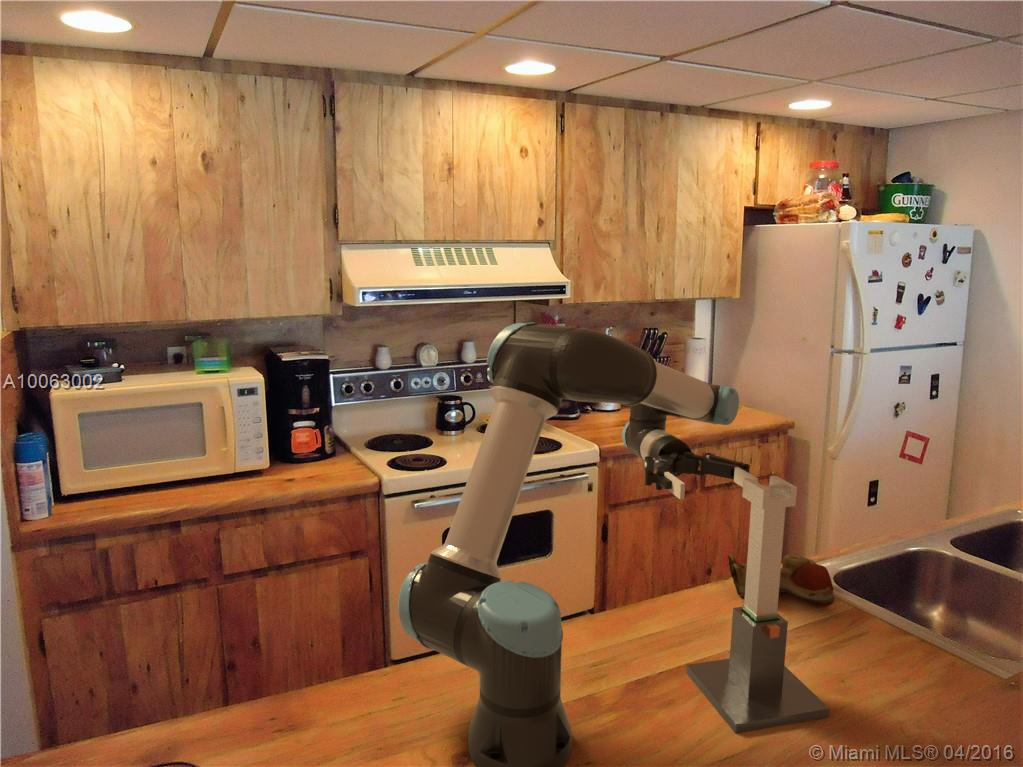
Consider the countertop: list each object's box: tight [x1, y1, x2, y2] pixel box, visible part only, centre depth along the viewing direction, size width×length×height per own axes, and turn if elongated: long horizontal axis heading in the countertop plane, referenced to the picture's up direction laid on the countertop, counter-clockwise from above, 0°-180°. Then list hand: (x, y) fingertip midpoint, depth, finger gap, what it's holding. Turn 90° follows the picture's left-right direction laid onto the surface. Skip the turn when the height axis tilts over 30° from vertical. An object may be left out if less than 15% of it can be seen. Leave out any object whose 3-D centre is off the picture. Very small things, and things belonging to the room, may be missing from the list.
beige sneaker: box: [727, 553, 835, 608], centre depth 152 cm, size 15×9×20 cm
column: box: [741, 475, 798, 623], centre depth 116 cm, size 6×6×28 cm
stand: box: [685, 606, 830, 734], centre depth 119 cm, size 16×16×14 cm
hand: (719, 488), depth 126 cm, fingers open, 13 cm apart
